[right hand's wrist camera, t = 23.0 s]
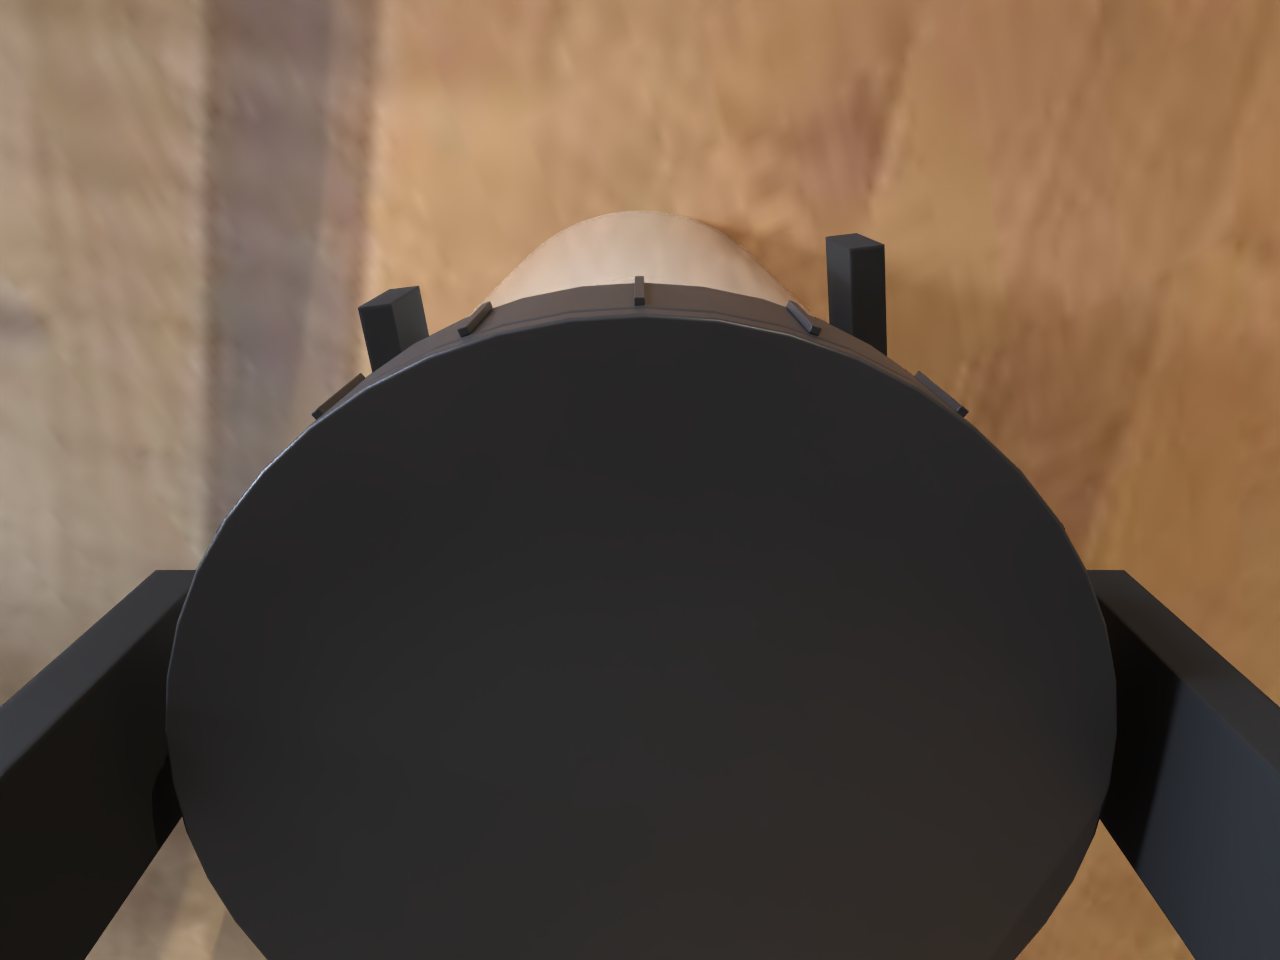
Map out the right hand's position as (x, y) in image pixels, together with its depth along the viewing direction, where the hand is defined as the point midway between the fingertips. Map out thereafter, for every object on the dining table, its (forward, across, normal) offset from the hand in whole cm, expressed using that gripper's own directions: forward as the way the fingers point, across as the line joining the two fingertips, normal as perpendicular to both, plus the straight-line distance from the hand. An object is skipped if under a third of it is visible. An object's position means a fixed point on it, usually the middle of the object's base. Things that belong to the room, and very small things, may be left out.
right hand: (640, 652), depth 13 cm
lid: (-3, 0, 0) cm, 3 cm away
